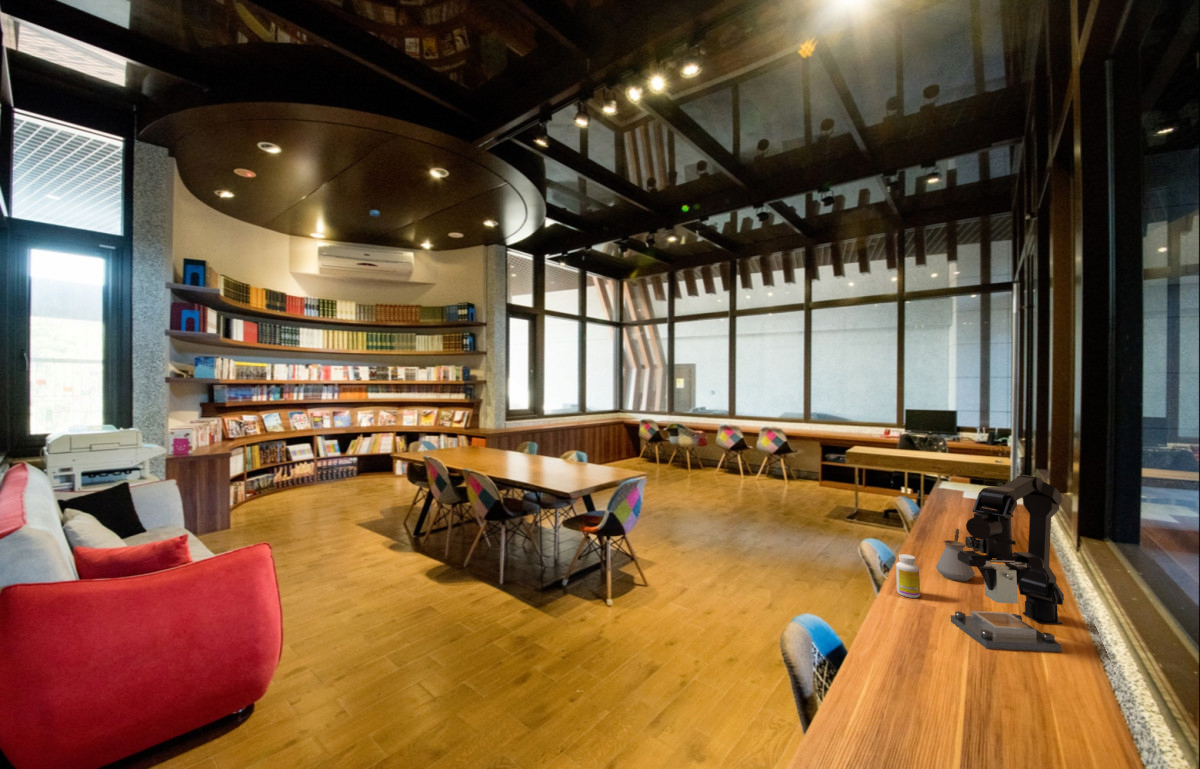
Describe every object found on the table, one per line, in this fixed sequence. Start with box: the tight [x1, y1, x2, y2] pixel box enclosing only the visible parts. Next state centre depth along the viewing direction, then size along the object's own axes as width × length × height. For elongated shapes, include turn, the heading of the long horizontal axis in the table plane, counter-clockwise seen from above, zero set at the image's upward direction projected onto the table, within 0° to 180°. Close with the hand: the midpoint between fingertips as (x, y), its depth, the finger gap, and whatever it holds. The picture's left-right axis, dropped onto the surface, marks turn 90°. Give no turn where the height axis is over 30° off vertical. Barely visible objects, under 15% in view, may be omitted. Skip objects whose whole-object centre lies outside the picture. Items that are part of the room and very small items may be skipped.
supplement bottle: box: [895, 553, 921, 599], centre depth 158 cm, size 7×7×13 cm
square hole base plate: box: [950, 610, 1062, 653], centre depth 129 cm, size 18×15×4 cm
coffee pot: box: [935, 528, 976, 582], centre depth 176 cm, size 21×12×15 cm, turn 137°
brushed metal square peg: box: [983, 563, 1019, 604], centre depth 129 cm, size 5×6×9 cm
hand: (1000, 590), depth 130 cm, fingers closed on brushed metal square peg, 5 cm apart
